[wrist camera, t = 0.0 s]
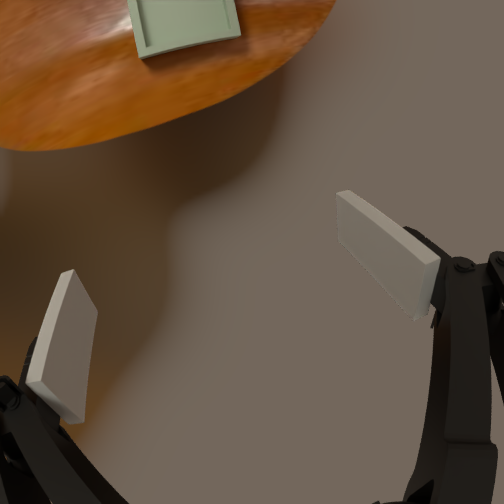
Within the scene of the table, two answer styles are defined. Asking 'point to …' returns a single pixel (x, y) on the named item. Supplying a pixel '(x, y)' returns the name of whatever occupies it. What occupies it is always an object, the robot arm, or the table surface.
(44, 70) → the table surface
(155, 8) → the tray
